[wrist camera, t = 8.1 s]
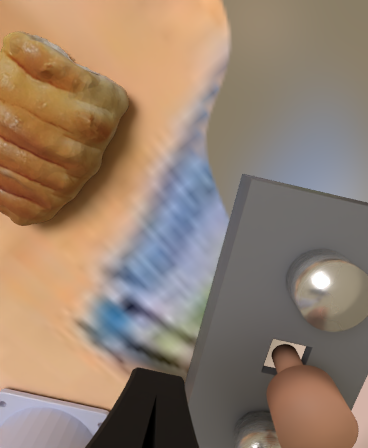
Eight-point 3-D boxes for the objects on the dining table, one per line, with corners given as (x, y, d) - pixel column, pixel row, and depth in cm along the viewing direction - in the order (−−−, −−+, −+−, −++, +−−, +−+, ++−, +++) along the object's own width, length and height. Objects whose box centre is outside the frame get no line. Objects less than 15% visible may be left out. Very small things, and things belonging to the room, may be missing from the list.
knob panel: (296, 448, 22) (312, 495, 19) (174, 421, 21) (171, 465, 18) (396, 209, 17) (437, 222, 14) (242, 173, 17) (251, 179, 14)
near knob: (317, 289, 18) (359, 338, 13) (265, 277, 18) (289, 323, 13) (336, 239, 17) (387, 273, 12) (282, 227, 17) (313, 256, 12)
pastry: (75, 238, 18) (44, 260, 15) (-27, 187, 18) (-86, 197, 14) (140, 92, 16) (123, 75, 12) (25, 29, 16) (-29, -8, 12)
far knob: (268, 419, 20) (289, 498, 16) (223, 409, 20) (230, 485, 16) (283, 381, 20) (309, 452, 15) (235, 371, 20) (247, 439, 15)
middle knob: (302, 384, 17) (341, 470, 13) (248, 372, 17) (267, 454, 12) (321, 336, 16) (370, 410, 12) (264, 324, 16) (291, 393, 12)
